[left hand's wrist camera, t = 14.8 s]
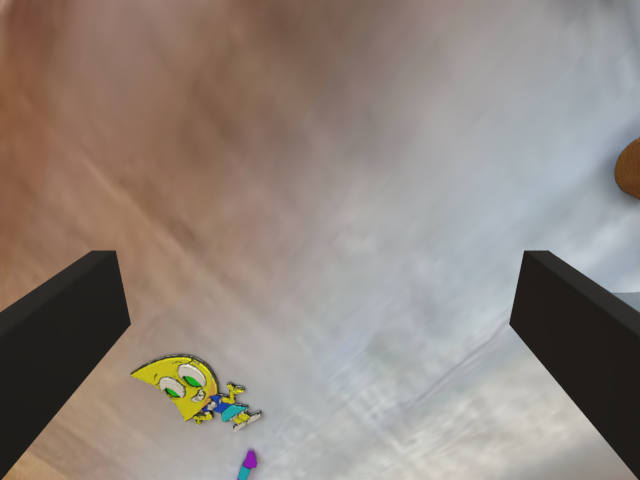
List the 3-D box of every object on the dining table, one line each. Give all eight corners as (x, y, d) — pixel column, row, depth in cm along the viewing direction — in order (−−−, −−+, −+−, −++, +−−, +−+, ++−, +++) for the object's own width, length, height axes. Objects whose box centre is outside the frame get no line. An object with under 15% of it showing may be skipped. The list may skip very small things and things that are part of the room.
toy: (209, 449, 52) (127, 378, 48) (210, 443, 53) (130, 373, 48) (266, 414, 50) (185, 337, 45) (267, 409, 50) (188, 333, 46)
